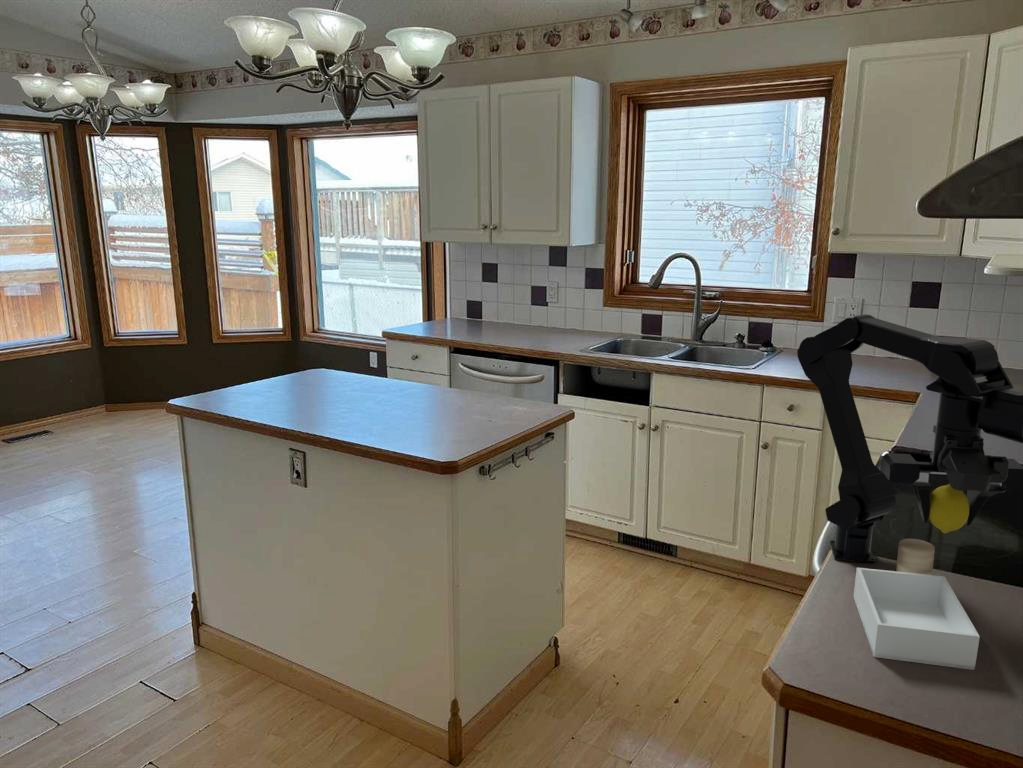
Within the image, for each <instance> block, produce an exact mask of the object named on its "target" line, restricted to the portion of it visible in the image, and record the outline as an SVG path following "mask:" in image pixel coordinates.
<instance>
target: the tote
mask: <svg viewBox="0 0 1023 768" xmlns="http://www.w3.org/2000/svg"><path fill="white" fill-rule="evenodd" d="M853 598H854V602H855V605H856V607H857V608H856V609H857V610H858V614H859V617H860V620H861V623H862V626H863V630H864V632H865V635H866V638H867V640H868V644H869V646H870V650H871V653H872V656H873V658H880V659H886V660H893V661H894V660H896V661H900V662H901V661H903V662H908V663H910V662H912V663H919V664H925V665H932V666H933V665H934V666H942V667H949V668H957V669H963V670H971V671H972V670H973V671H974V670H975V669H976V663H977V658H978V657H977V656H978V652H979V651H978V649H979V643H980V635H979V633H978V630H977V629H976V628H975V625H974V624H973V623H972V621H971V619H970V617H969V615H968V614H967V612H966V610H965V608H964V607H963V605H962V603H961V602H960V600H959V599H958V597H957V595H956V593H955V591H954V590H953V588H952V587H951V585H950V583H949V582H948V579H947V578H946V577H945V575H935V574H934V575H933V574H932V575H926V574H916V573H906V572H896V571H894V570H885V569H873V568H866V567H856V571H855V580H854V588H853Z"/></svg>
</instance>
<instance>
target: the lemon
mask: <svg viewBox="0 0 1023 768" xmlns="http://www.w3.org/2000/svg"><path fill="white" fill-rule="evenodd" d="M968 516H969V502H968V498H967V493H965V492H964V491H959V490H956V489H954V488H952V487H951V485H950V483H948V484H946V485H941V486H938V487H937V488H935V489H933V491H932V492H930V500H929V518H928V521H929V522H930V523H931V524H932V525H933V526H934V527H935V528H937V530H938V529H939V530H940V531H941V533H942V534H948V533H950V532H954V531H957V530H959V529H961V528H963V526H964V525H966V524H965V523H966V521H967V519H968Z"/></svg>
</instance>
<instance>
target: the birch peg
mask: <svg viewBox="0 0 1023 768" xmlns="http://www.w3.org/2000/svg"><path fill="white" fill-rule="evenodd" d="M935 549H936V548H935V545H933V544H932V543H930V542H928V541H925V540H922V539H918V538H903V539H900V540H899V541H898V549H897V559H896V567H895V568H896V569H895V570H896V572H906V573H916V574H926V575H933V570H934V560H935V552H936V551H935Z"/></svg>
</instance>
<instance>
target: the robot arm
mask: <svg viewBox="0 0 1023 768" xmlns="http://www.w3.org/2000/svg"><path fill="white" fill-rule="evenodd" d="M864 344H865V345H868V346H872V347H874V348H877V349H880V350H883V351H886V352H890V353H892V354H896V355H897V356H899V357H900V356H901V357H904V358H907V359H910V360H913V361H916V362H917V363H919V364H921V365H923V367H925V369H927V370H928V372H929V373H932V374H933V375H935V376H936V377H938V378H937V379H936V380H934V381H933V382H931V383H929V384H928V385H926V386H925V389H926V390H927V391H930V392H933V393H938V394H939V399H938V410H937V418H936V425H933V430H932V432H933V433H934V442H933V448H932V449H933V450H931V451H930V452H929V453H930V454H929V458H930V459H931V461H930V462H928V461H917V460H916V459H915V458H914V457H913V456H912V455H911V454H910V453H893V452H890V453H889V452H886V453H885V454H884V455H882V457H881V459H880V467H877V466H876V465H875V464H874V462H873V458H872V456H871V452H870V449H869V445H868V442H867V438H866V435H865V433H864V428H863V426H862V425H863V424H862V422H861V421H862V420H861V419H860V418H861V417H860V416H859V411H858V409H857V406H856V401H855V398H854V395H853V392H852V388H851V385H850V377H851V373H852V368H853V357H852V354H853V353H854V352H855V351H857V350H858V349H860V348H861V347H863V345H864ZM796 350H797V351H796V355H797V359H798V361H799V363H800V366H801V368H802V370H803V373H804V375H805V377H807V378H808V379H809V381H811V383H812V384H814V385H815V387H816V388H817V389H818V392H819V395H820V398H821V402H822V405H823V409H824V412H825V416H826V418H827V423H828V425H829V429H830V432H831V435H832V440H833V444H834V446H835V449H836V454H837V457H838V459H839V463H840V466H841V472H840V477H839V481H838V485H837V490H838V496H839V500H837V501H836V502H834V503H832V504H831V505H830V506H828V507H826V508H825V516H826V519H827V522H829V523H832V524H834V525H836V527H835V537H834V540H830V541H829V546H830V549H831V552H832V555H833V559H834V560H840V561H849V562H858V563H859V562H860V563H870V564H875V563H876V558H875V556H874V553H873V551H872V548H871V547H872V538H873V532H874V531H873V529H874V523H877V522H882V521H884V519H885V518H886V517H887V515H888V514H890V513H891V512H893V510H894V508H895V506H896V505H897V498H896V496H897V495H898V491H897V490H896V488H895V486H894V483H898V484H899V483H900V484H901V483H902V484H907V486H909V487H910V488H912V490H913V492H914V496H915V499H916V500H915V501H916V503H917V506H918V509H919V513H920V516H921V520H922V522H923V523H925V524H928V523H929V522H928V521H929V500H930V495H931V493H932V492H931V491H932V490H933V488H934V487H933V485H932V484H931V483H930V482H929V477H930V476H938V477H939V476H940V477H942V476H943V477H947V478H948V481H949V484H950V485H951V487H952V488H954V489H956V490H959V491H963V492H964V491H967V492H966V496H967V498H968V502H969V516H968V519H967V521H966V523H965V524H964V525H966V526H971V524H972V523H973V521H974V519H975V518H976V517H977V515H978V514H979V512H980V511H981V508H982V507H983V506H984V504H985V503H986V502H987V501H988V499H990V498H991V497H992V496H994V495H996V494H999V493H1001V494H1003V493H1005V492H1006V489H1014V490H1023V465H1022V464H1021V463H1019V462H1018V461H1017V460H1016V459H1014V458H1007V457H1006V456H999V455H997V456H996V455H990V454H989V455H988V454H987V455H986V454H985V451H984V444H985V443H984V438H983V437H982V435H981V434H982V432H984V433H985V434H987V435H990V436H995V437H997V438H1001V439H1005V440H1007V441H1008V440H1009V441H1013V442H1016V443H1020V444H1023V392H1021V391H1016V390H1013V388H1014V386H1013V384H1012V382H1011V380H1010V379H1009V377H1008V375H1007V373H1006V371H1005V369H1004V368H1003V366H1002V364H1001V362H1000V361H999V356H998V355H999V354H998V351H997V350H996V349H995V345H994V344H992V343H991V342H990V341H987V340H985V339H979V338H978V339H977V338H971V337H970V338H969V337H956V336H955V337H954V336H937V335H934V334H930V333H928V332H927V333H926V332H923V331H920V330H917V329H913V328H910V327H906V326H903V325H900V324H897V323H893V322H890V321H887V320H882V319H881V318H876V317H874V316H873V315H871V314H858V315H851V316H848V317H846V318H845V319H843V320H842V321H840V322H838V324H836V325H834V326H832V327H830V328H827V329H826V330H824V331H822V332H820V333H818V334H816V335H814V336H809V337H805V338H804V339H803V340H802V341H801V342H800V344H799V346H798V348H797V349H796ZM982 379H986V380H985V381H980V382H979V381H978V380H982ZM977 381H978V382H977ZM1003 486H1004V487H1003Z"/></svg>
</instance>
